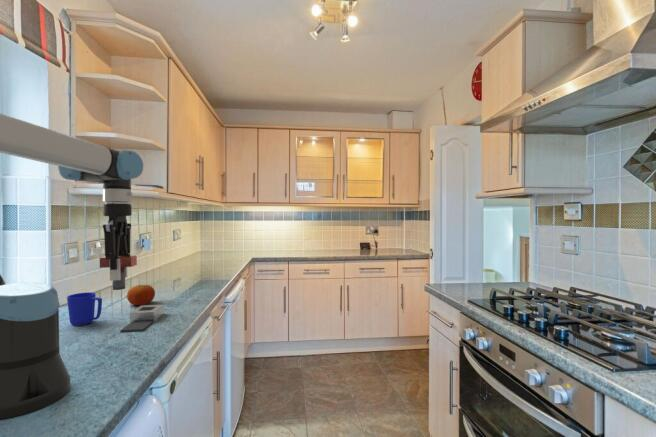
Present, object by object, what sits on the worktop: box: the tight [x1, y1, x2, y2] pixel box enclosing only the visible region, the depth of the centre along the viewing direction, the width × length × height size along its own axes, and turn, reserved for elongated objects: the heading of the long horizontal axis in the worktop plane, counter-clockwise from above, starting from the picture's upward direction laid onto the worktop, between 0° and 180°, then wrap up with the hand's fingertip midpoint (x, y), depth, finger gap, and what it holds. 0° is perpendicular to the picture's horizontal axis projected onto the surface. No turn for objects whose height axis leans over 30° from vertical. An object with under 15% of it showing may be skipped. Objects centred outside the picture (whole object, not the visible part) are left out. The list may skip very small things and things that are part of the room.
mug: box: [66, 292, 103, 326], centre depth 122 cm, size 8×12×10 cm
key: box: [99, 255, 138, 291], centre depth 108 cm, size 4×9×10 cm, turn 97°
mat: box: [120, 321, 154, 333], centre depth 118 cm, size 9×7×1 cm
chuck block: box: [129, 304, 165, 324], centre depth 127 cm, size 10×8×4 cm
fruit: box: [126, 284, 156, 306], centre depth 147 cm, size 11×10×8 cm
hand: (118, 278), depth 108 cm, fingers closed on key, 4 cm apart
